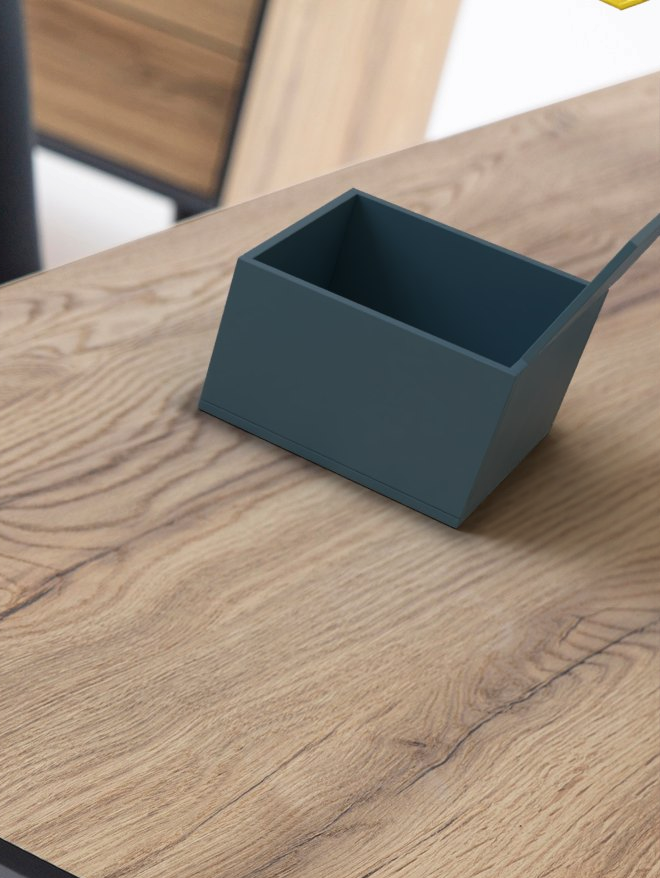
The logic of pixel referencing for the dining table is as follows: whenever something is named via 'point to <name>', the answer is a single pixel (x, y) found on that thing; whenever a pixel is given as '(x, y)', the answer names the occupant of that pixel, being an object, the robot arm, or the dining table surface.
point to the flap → (598, 285)
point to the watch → (623, 3)
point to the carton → (395, 352)
